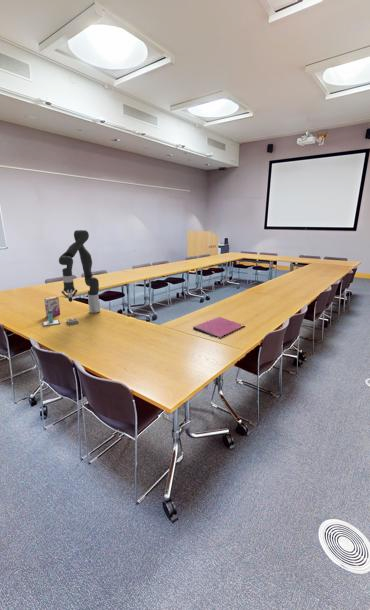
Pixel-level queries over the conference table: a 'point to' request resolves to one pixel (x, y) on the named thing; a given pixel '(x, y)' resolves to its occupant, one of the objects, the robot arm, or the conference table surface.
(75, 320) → the button housing
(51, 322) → the marker
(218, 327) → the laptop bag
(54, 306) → the candy bar box
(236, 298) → the conference table surface
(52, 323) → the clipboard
